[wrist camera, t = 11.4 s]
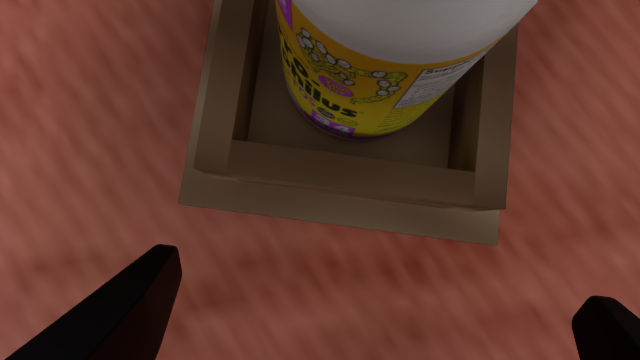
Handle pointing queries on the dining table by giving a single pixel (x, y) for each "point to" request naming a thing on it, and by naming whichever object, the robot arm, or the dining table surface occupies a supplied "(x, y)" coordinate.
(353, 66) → the supplement bottle
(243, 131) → the walnut collar
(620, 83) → the dining table surface
